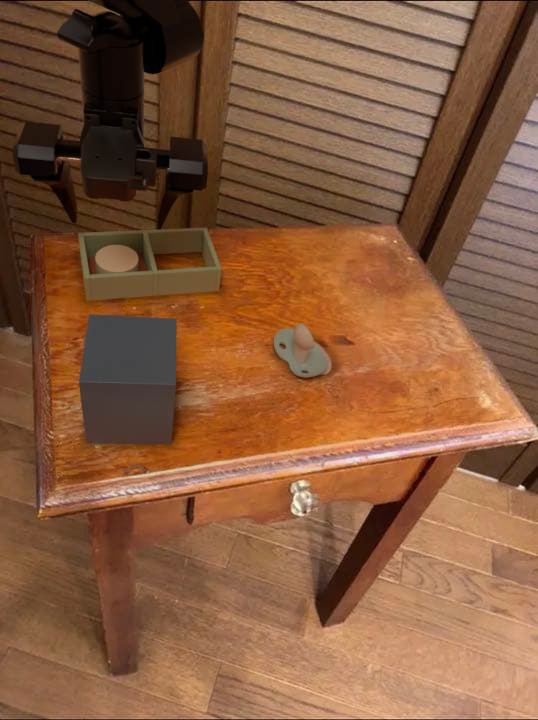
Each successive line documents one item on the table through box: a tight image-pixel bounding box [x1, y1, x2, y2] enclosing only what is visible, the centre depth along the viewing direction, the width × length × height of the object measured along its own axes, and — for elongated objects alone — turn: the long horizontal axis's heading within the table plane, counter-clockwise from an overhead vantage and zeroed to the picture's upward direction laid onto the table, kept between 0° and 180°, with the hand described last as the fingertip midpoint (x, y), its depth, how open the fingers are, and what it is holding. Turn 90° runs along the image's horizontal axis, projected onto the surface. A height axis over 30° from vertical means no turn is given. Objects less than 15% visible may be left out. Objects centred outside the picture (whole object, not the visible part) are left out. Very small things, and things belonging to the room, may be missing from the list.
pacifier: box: [273, 322, 333, 378], centre depth 66 cm, size 7×6×6 cm
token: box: [95, 245, 139, 274], centre depth 71 cm, size 5×5×2 cm
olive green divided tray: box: [77, 227, 223, 302], centre depth 72 cm, size 16×8×4 cm, turn 107°
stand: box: [78, 313, 178, 446], centre depth 56 cm, size 8×8×10 cm
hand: (117, 224), depth 66 cm, fingers open, 9 cm apart
